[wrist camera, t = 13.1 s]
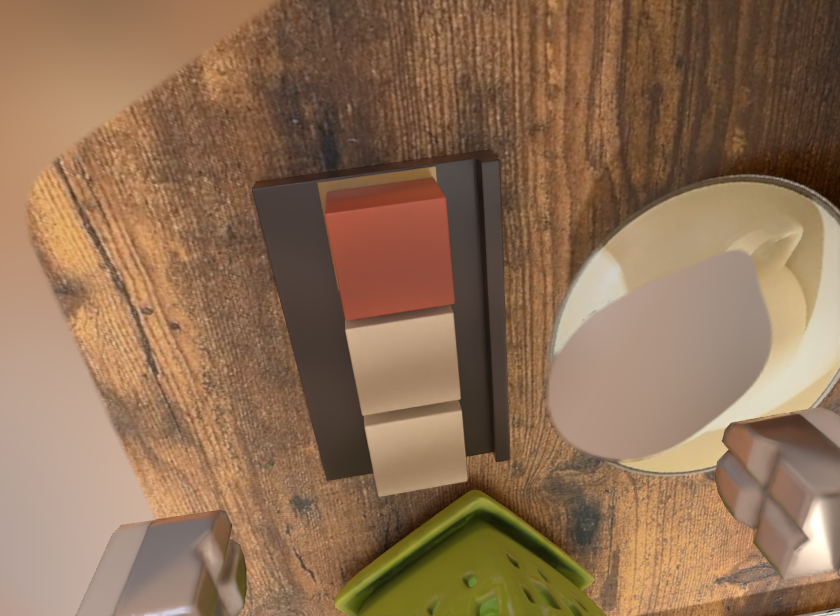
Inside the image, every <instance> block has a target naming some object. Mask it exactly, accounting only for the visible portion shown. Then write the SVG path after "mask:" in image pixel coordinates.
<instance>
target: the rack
mask: <svg viewBox="0 0 840 616" xmlns="http://www.w3.org/2000/svg"><path fill="white" fill-rule="evenodd" d="M431 177H433V178H434V179H435V181H436V182H437V184H438V186H439V187H440V189H441V190H442V192H443V194H444V195H445V197H446V201H447V213H448V225H449V236H450V248H451V260H452V272H453V284H454V295H455V304H451V305H445V306H438V307H432V308H425V309H419V310H413V311H406V312H400V313H393V314H387V315H380V316H374V317H368V318H361V319H355V320H348V321H346V320H345V317H344V312H343V307H342V302H341V296H340V291H339V286H338V281H337V276H336V271H335V266H334V261H333V256H332V251H331V246H330V241H329V236H328V231H327V226H326V221H325V205H326V194H327V192H331V191H338V190H345V189H352V188H359V187H367V186H374V185H381V184H388V183H395V182H402V181H410V180H417V179H424V178H431ZM252 192H253V196H254V200H255V204H256V208H257V212H258V216H259V219H260V223H261V227H262V231H263V235H264V239H265V243H266V247H267V251H268V254H269V258H270V262H271V266H272V270H273V274H274V278H275V282H276V286H277V289H278V293H279V297H280V301H281V305H282V309H283V313H284V317H285V320H286V324H287V328H288V332H289V336H290V340H291V344H292V348H293V352H294V355H295V359H296V363H297V367H298V371H299V375H300V379H301V383H302V387H303V390H304V394H305V398H306V402H307V406H308V410H309V414H310V418H311V422H312V425H313V429H314V433H315V437H316V441H317V445H318V449H319V453H320V457H321V460H322V464H323V468H324V472H325V476H326V480H327V481H330V480H336V479H341V478H347V477H353V476H359V475H364V474H370V473H374V478H375V483H376V488H377V493H378V496H379V497H382V496H388V495H393V494H399V493H404V492H410V491H416V490H421V489H427V488H433V487H438V486H444V485H449V484H455V483H461V482H466V481H467V480H468V476H467V464H466V457H467V456H473V455H479V454H485V453H490V452H493V455H494V458H495V460H496V462H501V461H507V460H510V435H509V406H508V377H507V348H506V319H505V290H504V261H503V232H502V203H501V174H500V160H499V159H498V158H497V155H496V154H495V153H494V152H492V151H491V150H484V151H477V152H469V153H462V154H455V155H447V156H440V157H433V158H426V159H418V160H411V161H404V162H396V163H389V164H382V165H374V166H367V167H360V168H352V169H345V170H338V171H330V172H323V173H316V174H308V175H301V176H294V177H286V178H279V179H272V180H264V181H257V182H256V183H255V185H254V186H253V188H252Z"/></svg>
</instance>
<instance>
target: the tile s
mask: <svg viewBox="0 0 840 616" xmlns="http://www.w3.org/2000/svg"><path fill="white" fill-rule="evenodd" d="M325 221H326V226H327V231H328V236H329V241H330V246H331V251H332V256H333V261H334V266H335V271H336V276H337V281H338V286H339V291H340V296H341V302H342V307H343V312H344V317H345V320H346V321H348V320H355V319H361V318H368V317H374V316H380V315H387V314H393V313H400V312H406V311H413V310H419V309H425V308H432V307H438V306H445V305H451V304H455V295H454V284H453V272H452V260H451V248H450V236H449V225H448V213H447V201H446V197H445V195H444V194H443V192H442V190H441V189H440V187H439V186H438V184H437V182H436V181H435V179H434V178H433V177H431V178H424V179H417V180H410V181H402V182H395V183H388V184H381V185H374V186H367V187H359V188H352V189H345V190H338V191H331V192H327V194H326V205H325Z"/></svg>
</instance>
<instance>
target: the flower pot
mask: <svg viewBox="0 0 840 616" xmlns="http://www.w3.org/2000/svg"><path fill="white" fill-rule="evenodd" d="M593 581H594V577H593V576H592V574H591V573H590V572H589V571H588V570H586V569H585V568H584V567H583V566H581V565H580V564H579V563H578V562H576V561H575V560H574V559H573V558H571V557H570V556H569V555H568V554H566V553H565V552H564V551H563V550H561V549H560V548H559V547H558V546H556V545H555V544H554V543H552V542H551V541H550V540H549V539H547V538H546V537H545V536H543V535H542V534H541V533H539V532H538V531H537V530H535V529H534V528H533V527H532V526H530V525H529V524H528V523H526V522H525V521H524V520H522V519H521V518H520V517H518V516H517V515H516V514H514V513H513V512H511V511H510V510H509V509H507V508H506V507H504V506H503V505H501V504H500V503H498V502H497V501H496V500H494V499H493V498H491V497H490V496H488V495H487V494H485V493H483V492H482V491H479V490H471V491H469V492H467V493H466V494H464V495H463V496H461V497H460V498H458V499H457V500H456V501H454V502H453V503H451V504H450V505H449V506H447V507H446V508H444V509H443V510H442V511H440V512H439V513H438V514H436V515H435V516H434V517H432V518H431V519H429V520H428V521H427V522H425V523H424V524H422V525H421V526H420V527H418V528H417V529H416V530H414V531H413V532H411V533H410V534H409V535H407V536H406V537H405V538H403V539H402V540H401V541H399V542H398V543H397V544H395V545H394V546H392V547H391V548H390V549H388V550H387V551H386V552H384V553H383V554H382V555H381V556H379V557H378V558H377V559H375V560H374V561H373V562H371V563H370V564H369V565H367V566H366V567H365V568H364V569H362V570H361V571H360V572H358V573H357V574H356V575H355V576H354V577H353V578H351V579H350V580H349V581H348V582H347V583H346V584H345V586H344V587H343V588H342V589H341V590H340V591H339V593H338V594H337V596H336V598H335V601H334V605H335V607H336V608H337V609H338V610H340V611H341V612H343V613H345V614H346V615H348V616H607V615H606V614H605V613H604V612H603V611H602V610H601V609H600V608H599V607H598V606H597V605H596V604H595V603H594V602H593V601H592V600H591V599H590V598H589V597H588V596H587V595H586V594H585V593H584V592H582V590H584V589H585V588H586V587H588V586H589V585H590V584H591V583H592V582H593Z"/></svg>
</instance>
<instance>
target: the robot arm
mask: <svg viewBox="0 0 840 616" xmlns="http://www.w3.org/2000/svg"><path fill="white" fill-rule="evenodd" d="M722 442H723V443H724V445H725V446H726V447H727V448H728V451H727V452H726V453H725V454H724V455H723V456H722V457H721V458H720V459H719V460H718V461H717V466H716V472H715V480H716V485H717V489H718V493H719V495H720V497H721V499H722V501H723V503H724V505H725V507H726V508H727V509H728V511H729V512H730V513H731V515H732V516H733V517H734V518H735V519H736V520H738V521H740V522H742V523H743V524H745V525H747V526H749V527H751V528H753V543H754V544H755V545H756V546H757V548H758V549H759V550H760V551H761V553H762V554H763V555H764V556H765V558H766V559H767V560H768V561H769V563H770V564H771V565H772V566H773V568H774V569H775V570H776V571H777V573H778V574H779V575H780V576H781V578H782V579H783V580H788V579H794V578H800V577H807V576H813V575H819V574H825V573H832V572H838V571H839V572H838V574H837V575H839V576H840V417H839V416H838V415H837V414H836V413H834V412H833V411H831V410H828V409H825V408H823V407H818V408H812V409H807V410H801V411H795V412H791V413H783V414H778V415H772V416H767V417H761V418H756V419H750V420H745V421H739V422H734V423H731V424H730V425H729V426H728V427H727V428H726V429H725V432H724V436H723V440H722ZM231 529H232V524H231V522H230V519H229V517H228V515H227V513H226V511H222V510H218V511H211V512H204V513H197V514H190V515H183V516H177V517H170V518H163V519H156V520H153V521H146V522H139V523H133V524H126V525H121V526H120V527H119V528H118V529H117V530H116V531H115V532H114V533H113V535H112V536H111V538H110V541H109V543H108V545H107V547H106V550H105V552H104V554H103V556H102V558H101V560H100V563H99V565H98V567H97V569H96V572H95V574H94V576H93V578H92V581H91V583H90V585H89V587H88V589H87V592H86V594H85V596H84V598H83V600H82V603H81V605H80V607H79V609H78V612H77V614H76V616H238V615H239V614H240V612H241V611H242V610H243V608H244V603H245V596H246V590H247V585H246V564H245V559H244V554H243V552H242V549H241V546H240V544H238V543H236V542H234V541H233V540H231V539H229V538H230V534H231Z"/></svg>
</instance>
